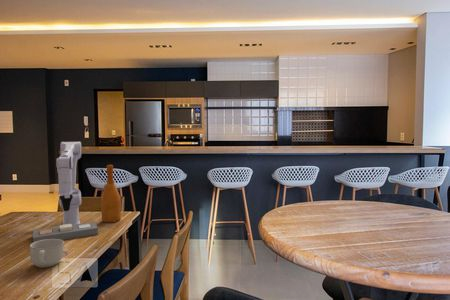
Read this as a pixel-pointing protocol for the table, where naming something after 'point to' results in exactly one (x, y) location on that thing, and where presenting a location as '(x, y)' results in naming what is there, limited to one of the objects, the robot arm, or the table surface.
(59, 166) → the robot arm
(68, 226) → the off-white key
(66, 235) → the key console
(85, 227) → the pale blue key
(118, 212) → the wine bottle
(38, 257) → the teacup
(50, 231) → the terracotta key
